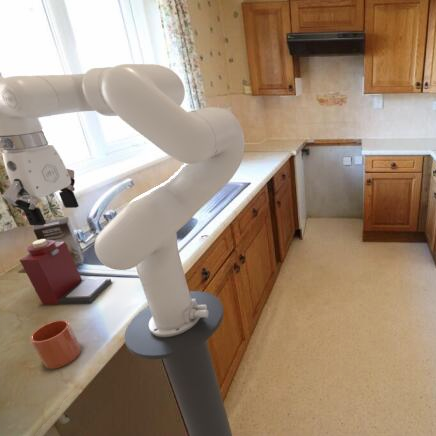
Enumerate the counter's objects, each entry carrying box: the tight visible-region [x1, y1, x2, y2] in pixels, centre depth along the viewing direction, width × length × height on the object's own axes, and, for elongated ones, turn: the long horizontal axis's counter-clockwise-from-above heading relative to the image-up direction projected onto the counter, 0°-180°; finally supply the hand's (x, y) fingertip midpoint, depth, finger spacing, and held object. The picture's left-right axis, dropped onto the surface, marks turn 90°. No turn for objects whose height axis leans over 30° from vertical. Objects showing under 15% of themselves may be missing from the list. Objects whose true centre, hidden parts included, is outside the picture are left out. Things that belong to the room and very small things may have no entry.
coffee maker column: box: [19, 240, 83, 306], centre depth 94 cm, size 6×10×17 cm, turn 179°
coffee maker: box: [50, 249, 113, 305], centre depth 94 cm, size 9×10×15 cm
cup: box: [29, 319, 82, 370], centre depth 74 cm, size 7×7×8 cm
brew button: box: [31, 239, 48, 248], centre depth 90 cm, size 3×3×2 cm
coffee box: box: [33, 216, 85, 266], centre depth 110 cm, size 9×6×16 cm
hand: (56, 215), depth 75 cm, fingers open, 9 cm apart
